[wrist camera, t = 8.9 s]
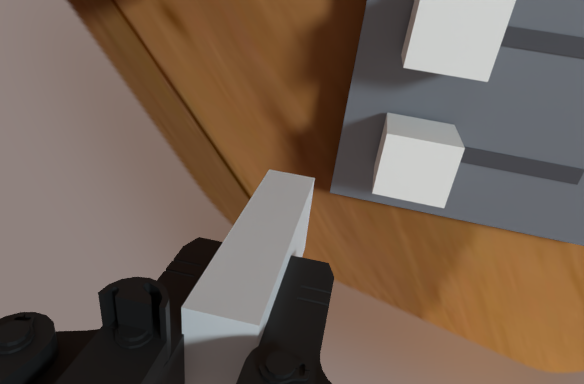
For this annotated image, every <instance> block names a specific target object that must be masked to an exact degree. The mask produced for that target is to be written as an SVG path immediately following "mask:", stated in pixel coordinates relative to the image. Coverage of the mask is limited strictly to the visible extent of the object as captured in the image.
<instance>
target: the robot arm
mask: <svg viewBox="0 0 584 384" xmlns="http://www.w3.org/2000/svg"><path fill="white" fill-rule="evenodd" d="M314 181H315V178H312V177H307V176H302V175H296V174H291V173H285V172H280V171H274V170H269V171H268V172H267V174H266V175H265V177H264V179H263V180H262V182H261V183H260V185H259V186H258V188H257V190H256V191H255V193H254V194H253V196H252V197H251V199H250V201H249V202H248V204H247V205H246V207H245V208H244V210H243V212H242V213H241V215H240V216H239V218H238V219H237V221H236V222H235V224H234V226H233V227H232V229H231V231H230V232H229V233H228V235H227V237H226V238H225V240H224V241H223V242H219V241H215V240H210V239H205V238H200V237H199V238H197V239H195V240H193V241H192V242H190V243H188V244H187V245H185V246H183V248H182V249H181V250H180V251H179V253H178V254H177V255H176V257H175V258H174V261H172V262H171V263H170V264H169V266H168V267H167V268H166V271H164V272H163V273H162V275H161V276H160V277H159V278H158V280H157V281H156V280H153V279H151V278H142V277H132V278H126V279H121V280H118V281H116V282H114V283H111V284H109V285H107V286H106V287H105V288H103V289H102V290H101V291H100V292H98V295H99V302H100V309H101V316H102V323H103V326H102V327H101V328H100V329H97V330H88V331H59V332H55V328H54V323H53V321H51V319H50V318H49V317H48V316H46V315H43V314H40V313H36V312H22V313H17V314H13V315H9V316H5V317H3V318H1V319H0V384H332V383H331V382H330V381H329V380H328V379H327V377H326V376H325V374H324V372H323V370H322V367H321V364H320V350H321V345H322V340H323V335H324V329H325V324H326V318H327V313H328V308H329V302H330V296H331V292H332V286H333V281H334V276H333V273H332V271H331V268H330V266H329V263H325V262H321V261H316V260H311V259H306V258H302V255H303V252H304V249H305V243H306V236H307V229H308V222H309V215H310V208H311V202H312V195H313V188H314Z"/></svg>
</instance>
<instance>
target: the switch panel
mask: <svg viewBox="0 0 584 384" xmlns="http://www.w3.org/2000/svg"><path fill="white" fill-rule="evenodd" d="M413 4H414V0H367V3H366V8H365V13H364V18H363V24H362V29H361V34H360V39H359V44H358V49H357V55H356V60H355V65H354V70H353V75H352V80H351V86H350V91H349V96H348V101H347V106H346V111H345V117H344V122H343V127H342V132H341V137H340V142H339V148H338V153H337V158H336V163H335V168H334V173H333V178H332V184H331V189H330V193H334V194H339V195H344V196H349V197H353V198H358V199H363V200H368V201H372V202H377V203H382V204H387V205H391V206H396V207H401V208H406V209H411V210H415V211H420V212H425V213H430V214H434V215H439V216H444V217H449V218H454V219H458V220H463V221H468V222H473V223H477V224H482V225H487V226H492V227H496V228H501V229H506V230H511V231H516V232H520V233H525V234H530V235H535V236H539V237H544V238H549V239H554V240H558V241H563V242H568V243H573V244H578V245H582V246H584V0H516V2H515V5H514V8H513V11H512V14H511V16H510V19H509V22H508V25H507V28H506V31H505V34H504V37H503V40H502V42H501V45H500V48H499V51H498V54H497V57H496V60H495V63H494V66H493V69H492V71H491V74H490V77H489V80H488V82H484V81H478V80H473V79H467V78H461V77H455V76H449V75H443V74H437V73H431V72H425V71H420V70H414V69H408V68H403V63H402V57H401V54H402V49H403V45H404V41H405V37H406V33H407V29H408V25H409V21H410V16H411V12H412V8H413ZM387 112H388V113H393V114H399V115H404V116H409V117H415V118H420V119H426V120H431V121H437V122H442V123H448V124H453V125H455V127H456V129H457V132H458V134H459V136H460V138H461V141H462V143H463V145H464V147H465V150H464V152H463V155H462V158H461V161H460V164H459V167H458V170H457V173H456V176H455V178H454V181H453V184H452V187H451V190H450V193H449V196H448V199H447V202H446V205H445V207H444V208H440V207H435V206H430V205H425V204H420V203H416V202H411V201H406V200H401V199H396V198H391V197H387V196H382V195H377V194H372V189H373V176H374V165H375V161H376V157H377V153H378V149H379V145H380V140H381V136H382V132H383V128H384V124H385V120H386V116H387Z"/></svg>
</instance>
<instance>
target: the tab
mask: <svg viewBox="0 0 584 384" xmlns="http://www.w3.org/2000/svg"><path fill="white" fill-rule="evenodd" d="M464 150H465V147H464V145H463V143H462V141H461V138H460V136H459V134H458V132H457V129H456V127H455V125H453V124H448V123H442V122H437V121H431V120H426V119H420V118H415V117H409V116H404V115H399V114H393V113H388V112H387V116H386V120H385V124H384V128H383V132H382V136H381V140H380V145H379V149H378V153H377V157H376V161H375V165H374V176H373V189H372V194H377V195H382V196H387V197H391V198H396V199H401V200H406V201H411V202H416V203H420V204H425V205H430V206H435V207H440V208H444V207H445V205H446V202H447V199H448V196H449V193H450V190H451V187H452V184H453V181H454V178H455V176H456V173H457V170H458V167H459V164H460V161H461V158H462V155H463V152H464Z"/></svg>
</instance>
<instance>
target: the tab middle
mask: <svg viewBox="0 0 584 384" xmlns="http://www.w3.org/2000/svg"><path fill="white" fill-rule="evenodd" d="M515 2H516V0H414V4H413V8H412V12H411V16H410V21H409V25H408V29H407V33H406V37H405V41H404V45H403V49H402V54H401V57H402V63H403V68H408V69H414V70H420V71H425V72H431V73H437V74H443V75H449V76H455V77H461V78H467V79H473V80H478V81H484V82H488V80H489V77H490V74H491V71H492V69H493V66H494V63H495V60H496V57H497V54H498V51H499V48H500V45H501V42H502V40H503V37H504V34H505V31H506V28H507V25H508V22H509V19H510V16H511V14H512V11H513V8H514V5H515Z"/></svg>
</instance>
